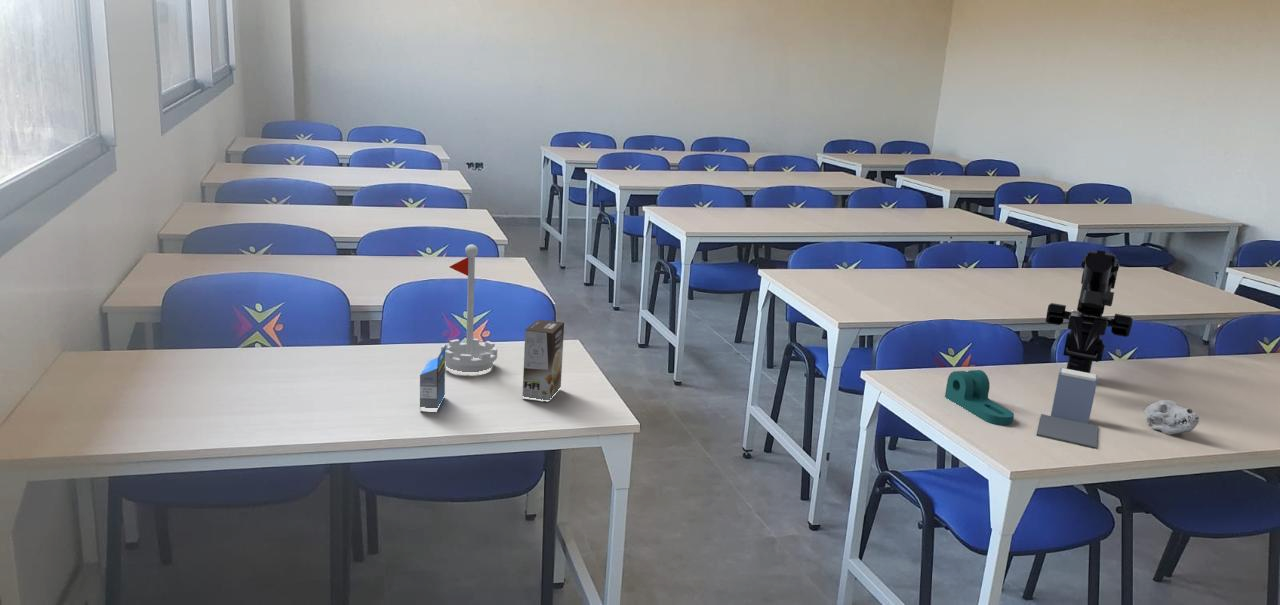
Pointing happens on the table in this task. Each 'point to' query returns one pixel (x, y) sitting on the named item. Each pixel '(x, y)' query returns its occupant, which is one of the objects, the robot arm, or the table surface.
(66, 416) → the table surface
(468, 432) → the table surface
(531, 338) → the coffee box
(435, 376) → the label tape cartridge
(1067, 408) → the book block
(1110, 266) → the robot arm
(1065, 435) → the mat
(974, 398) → the bracket
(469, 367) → the flag stand
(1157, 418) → the skull
